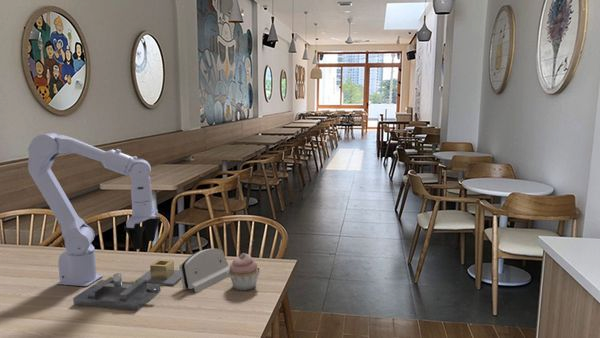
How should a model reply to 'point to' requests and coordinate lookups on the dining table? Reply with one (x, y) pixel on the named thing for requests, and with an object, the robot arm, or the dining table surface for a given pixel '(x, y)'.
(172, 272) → the collar
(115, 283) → the vise
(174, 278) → the mat
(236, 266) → the cupcake
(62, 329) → the dining table surface
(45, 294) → the dining table surface
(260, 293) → the dining table surface
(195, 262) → the hinge
